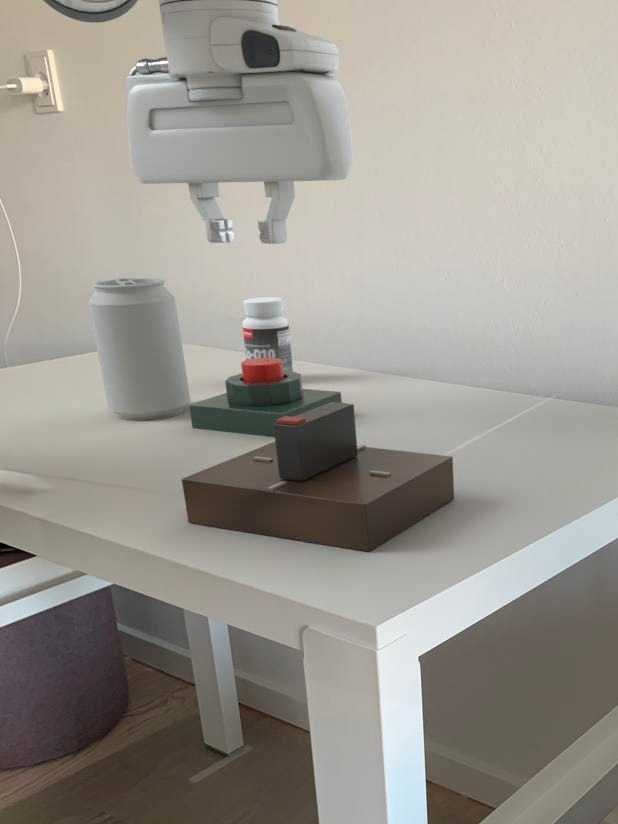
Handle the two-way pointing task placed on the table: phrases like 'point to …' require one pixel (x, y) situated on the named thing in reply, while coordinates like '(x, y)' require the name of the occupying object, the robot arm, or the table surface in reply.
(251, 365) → the button
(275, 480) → the brown wooden base
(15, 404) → the table surface
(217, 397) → the button box
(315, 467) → the dark grey rectangular block
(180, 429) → the table surface
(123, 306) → the can
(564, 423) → the table surface
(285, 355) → the pill bottle
